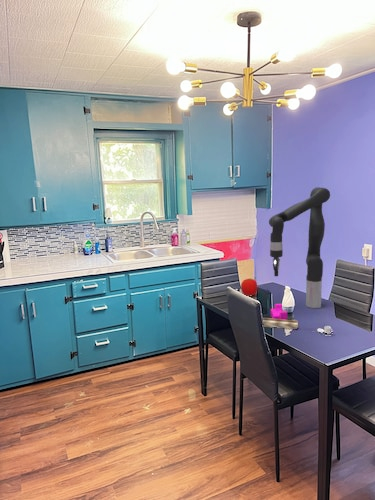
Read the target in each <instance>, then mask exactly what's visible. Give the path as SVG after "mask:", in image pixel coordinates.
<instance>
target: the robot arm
mask: <svg viewBox="0 0 375 500" xmlns="http://www.w3.org/2000/svg"><path fill="white" fill-rule="evenodd" d="M330 197H331V192H330V190H329V189H328V188H325V187H315V188H313V189H312V190H311V191H310V195H309V197H307V199H305V200H301V201H299V202H298V203H295V204H292V205H291V206H290V207H288V208H286V209H285V210H283V211H281V212H279V213H277V214H275V215H272V217H270V218H269V221H268V224H269V226H270V227H272V230H271V231H272V232H271V233H270V244H269V255H270V257H271V258H273V259H272V268H273V273H274V277H278V276H279V270H280V261H281V259H280V258H283V253H284V252H283V246H284V245H283V232H284V226H285V222H290V221H292V220H293V219H295V218H296V217H299V216H300V215H301V214H303V213H305V212H306V211H308V210H310V211H309V225H308V247H307V254H306V259H305V264H306V266H307V268H306V269H307V273H306V282H305V283H306V284H305V285H306V288H305V295H306V296H305V306H306V307H308V308H312V309H317V308H318V309H319V308H320V309H321V308H322V282H323V281H322V280H323V273H324V271H323V270H324V262H323V259H322V257H321V246H322V243H323V239H324V236H325V230H326V229H325V227H326V226H325V225H326V224H325V219H324V215H323V204H325V203H326V202H327V201H329V199H331V198H330Z"/></svg>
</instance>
